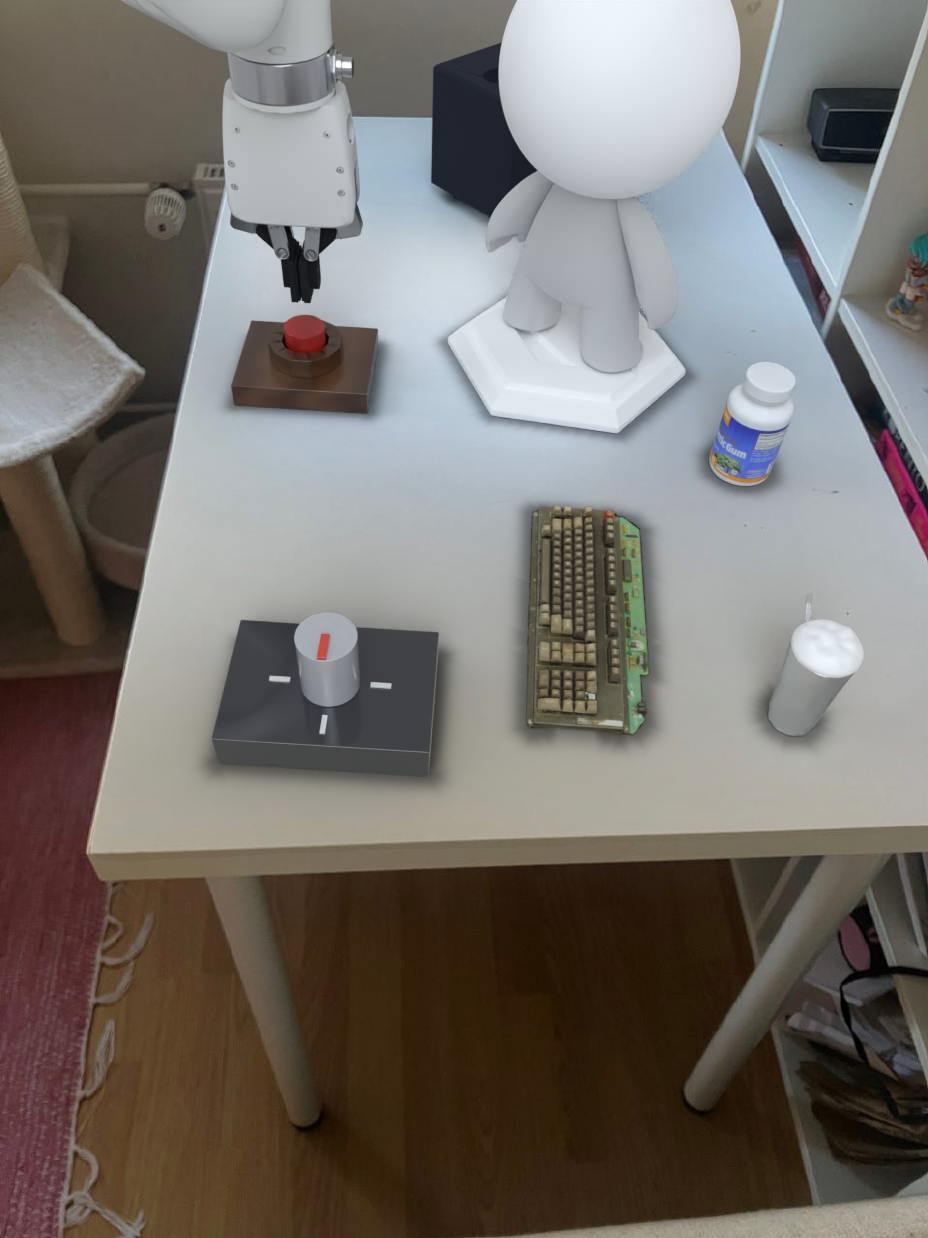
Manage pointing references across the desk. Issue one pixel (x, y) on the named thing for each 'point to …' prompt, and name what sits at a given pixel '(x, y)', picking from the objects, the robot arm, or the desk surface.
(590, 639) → the keyboard
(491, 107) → the speaker
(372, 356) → the switch block
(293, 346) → the button
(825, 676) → the milkshake
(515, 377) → the white cartoon figure
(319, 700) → the hob knob
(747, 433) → the pill bottle
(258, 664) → the panel
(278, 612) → the desk surface
